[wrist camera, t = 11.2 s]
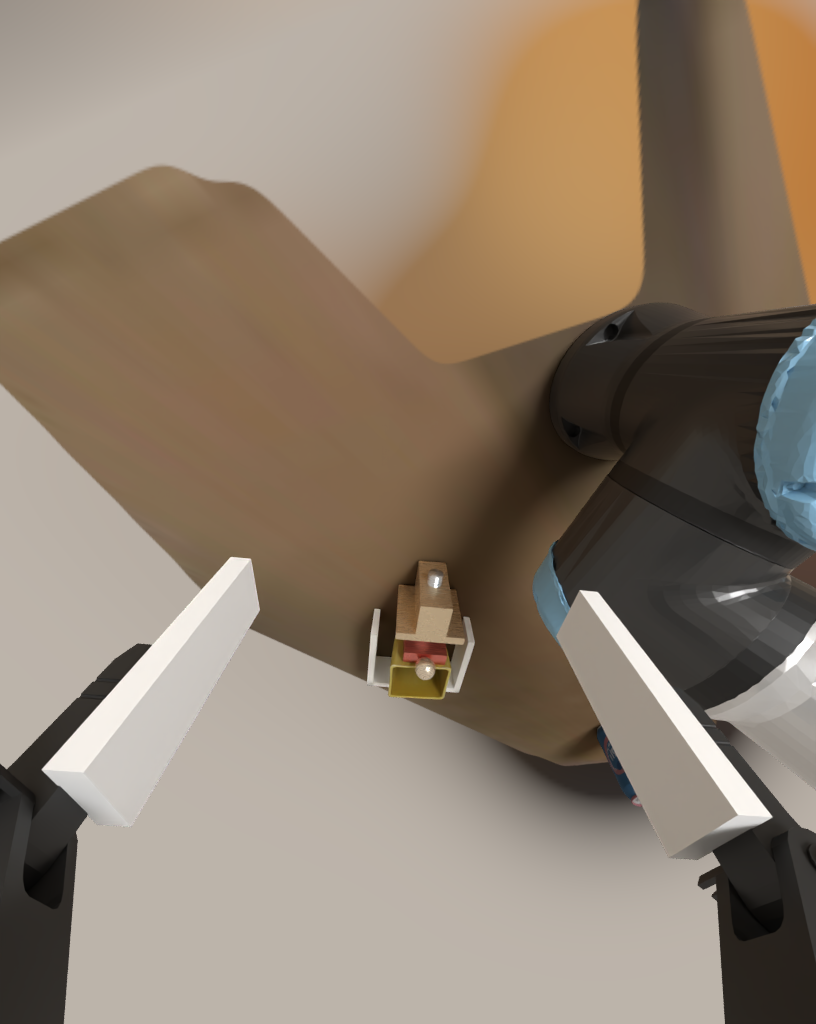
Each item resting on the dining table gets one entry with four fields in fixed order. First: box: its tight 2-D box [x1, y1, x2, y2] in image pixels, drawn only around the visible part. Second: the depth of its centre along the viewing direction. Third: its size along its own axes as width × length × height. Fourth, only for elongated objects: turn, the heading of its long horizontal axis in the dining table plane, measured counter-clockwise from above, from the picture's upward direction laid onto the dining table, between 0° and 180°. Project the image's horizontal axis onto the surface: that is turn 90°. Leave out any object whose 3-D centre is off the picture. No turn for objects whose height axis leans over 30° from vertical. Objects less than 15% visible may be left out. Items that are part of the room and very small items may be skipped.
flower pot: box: [388, 639, 451, 699], centre depth 48 cm, size 9×9×9 cm
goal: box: [367, 609, 475, 693], centre depth 50 cm, size 16×13×5 cm
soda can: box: [597, 725, 643, 807], centre depth 60 cm, size 7×7×12 cm
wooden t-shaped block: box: [395, 561, 465, 680], centre depth 41 cm, size 9×13×11 cm
